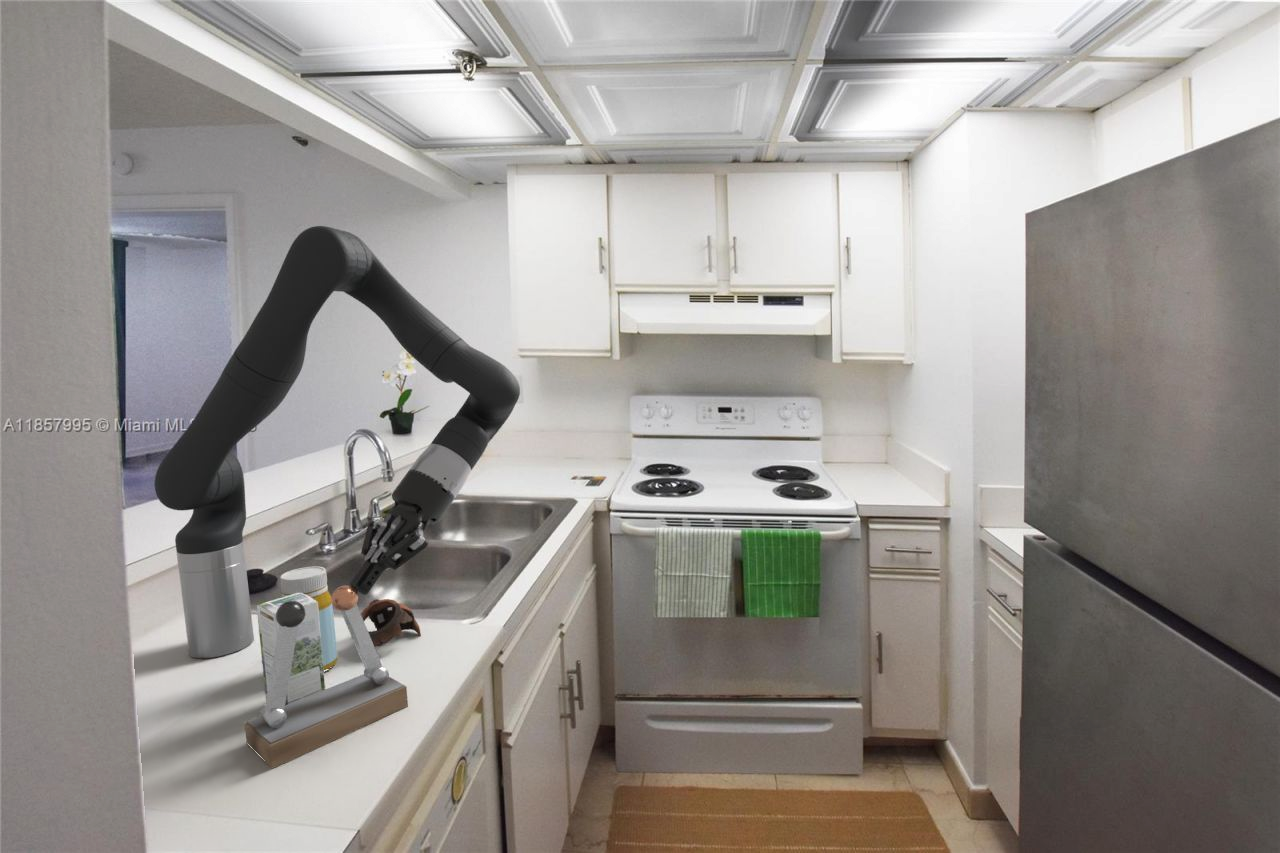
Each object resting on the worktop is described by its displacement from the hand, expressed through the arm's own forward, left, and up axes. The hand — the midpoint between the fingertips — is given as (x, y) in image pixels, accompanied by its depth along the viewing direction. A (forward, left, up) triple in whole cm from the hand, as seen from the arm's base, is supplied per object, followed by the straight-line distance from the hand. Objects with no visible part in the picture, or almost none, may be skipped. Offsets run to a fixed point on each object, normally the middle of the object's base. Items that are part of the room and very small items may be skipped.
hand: (357, 590), depth 88 cm
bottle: (-18, +1, -16) cm, 25 cm away
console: (0, -5, -16) cm, 17 cm away
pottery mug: (-18, +13, -16) cm, 28 cm away
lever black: (0, -11, -12) cm, 17 cm away
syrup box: (-9, -5, -16) cm, 20 cm away
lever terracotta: (0, +2, -12) cm, 12 cm away
